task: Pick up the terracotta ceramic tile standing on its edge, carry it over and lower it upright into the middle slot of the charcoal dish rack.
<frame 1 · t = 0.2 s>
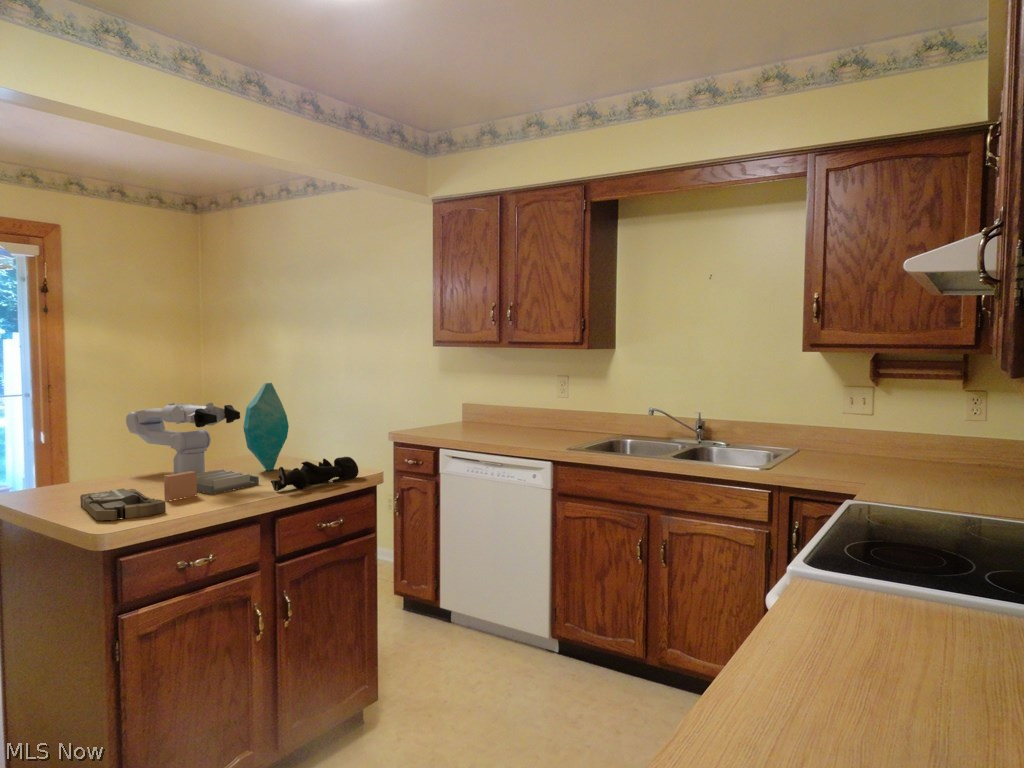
hand: (227, 416, 195), 21 cm above the table, tool horizontal, fingers open, 7 cm apart
figurine: (319, 485, 203), on the table
rack: (218, 485, 199), on the table
tile: (181, 498, 183), on the table
crystal: (267, 470, 223), on the table
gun: (122, 512, 171), on the table
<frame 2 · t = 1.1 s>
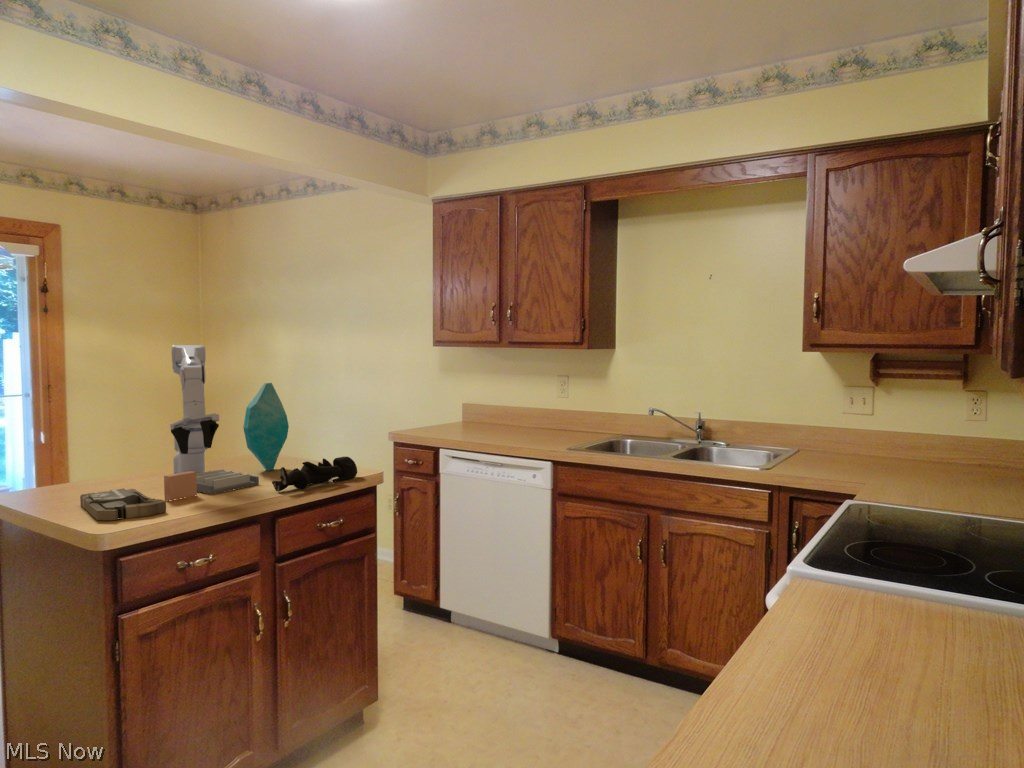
hand: (195, 450, 185), 13 cm above the table, tool tilted 20°, fingers open, 7 cm apart
nothing on the table moved.
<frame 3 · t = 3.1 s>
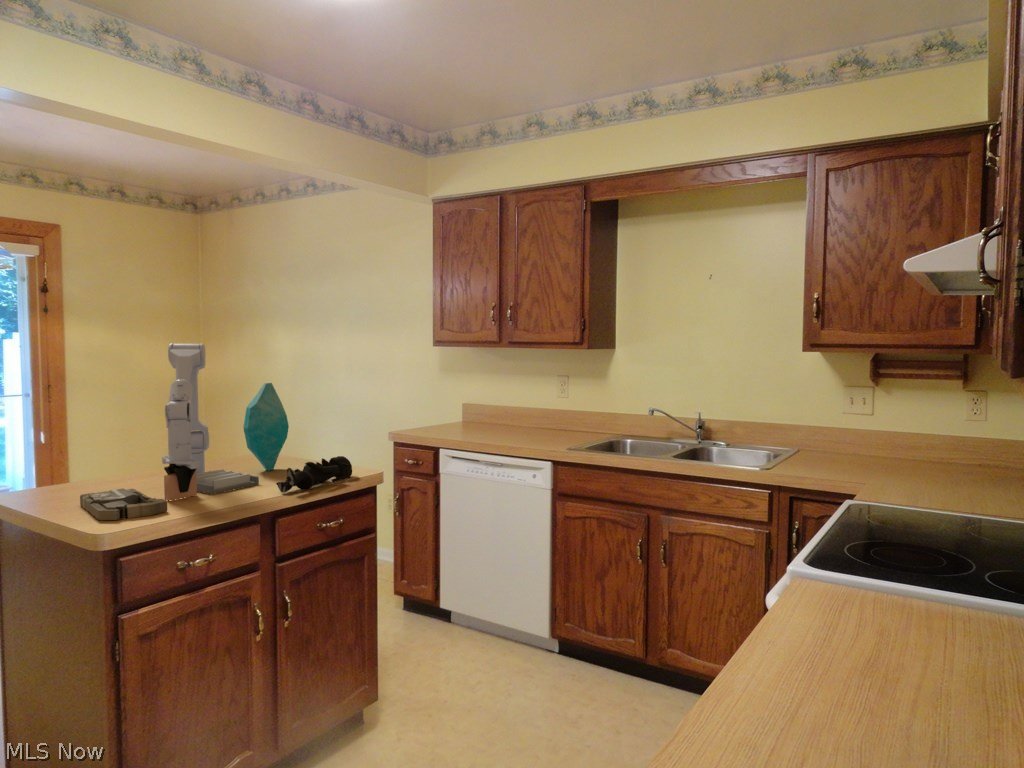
hand: (180, 491, 183), 2 cm above the table, tool pointing down, fingers closed on tile, 2 cm apart
tile: (181, 498, 183), on the table, touching gripper
when the fingers open (4 cm above the table, at t = 6.4 s): tile stays where it is, resting on rack.
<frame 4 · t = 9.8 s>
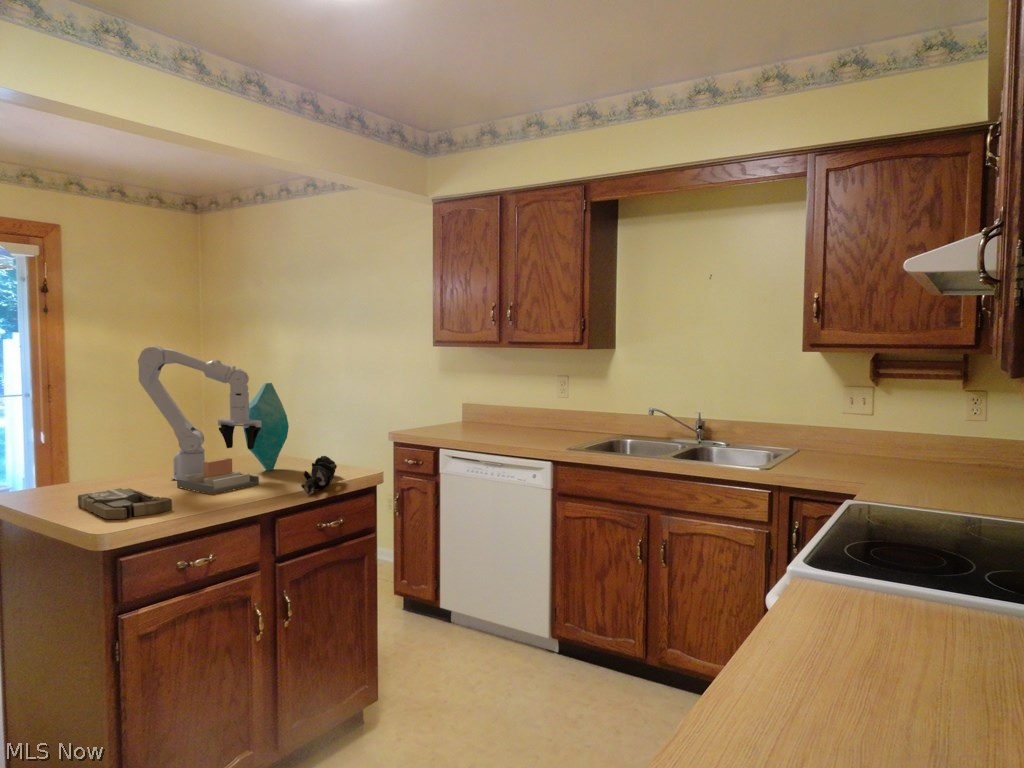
hand: (240, 448, 211), 9 cm above the table, tool pointing down, fingers open, 7 cm apart
tile: (218, 482, 199), point 1 cm above the table, touching rack
at the end: tile 0.0 cm off-centre on the rack, point 1.0 cm above the rack's base; tile tilted 0°; the gripper is holding nothing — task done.
